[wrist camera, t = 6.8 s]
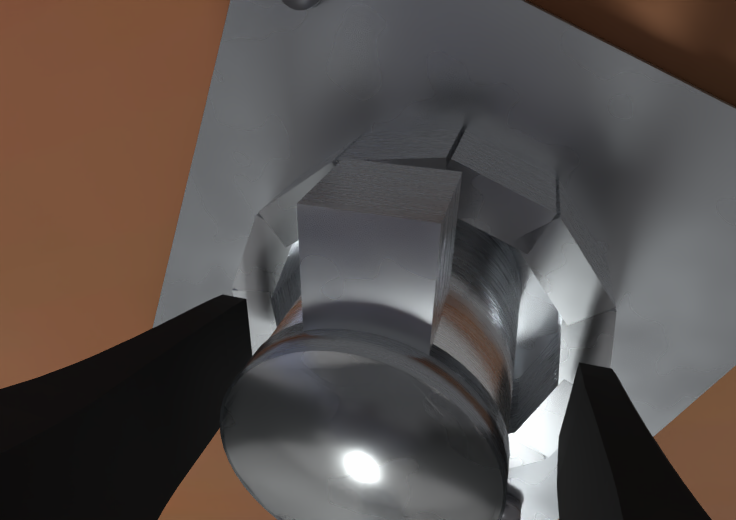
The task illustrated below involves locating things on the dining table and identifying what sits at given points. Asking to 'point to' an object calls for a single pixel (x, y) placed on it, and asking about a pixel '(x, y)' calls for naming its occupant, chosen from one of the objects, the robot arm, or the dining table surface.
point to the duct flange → (482, 188)
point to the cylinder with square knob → (383, 359)
